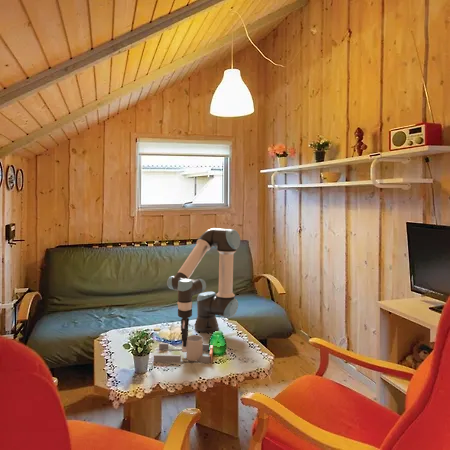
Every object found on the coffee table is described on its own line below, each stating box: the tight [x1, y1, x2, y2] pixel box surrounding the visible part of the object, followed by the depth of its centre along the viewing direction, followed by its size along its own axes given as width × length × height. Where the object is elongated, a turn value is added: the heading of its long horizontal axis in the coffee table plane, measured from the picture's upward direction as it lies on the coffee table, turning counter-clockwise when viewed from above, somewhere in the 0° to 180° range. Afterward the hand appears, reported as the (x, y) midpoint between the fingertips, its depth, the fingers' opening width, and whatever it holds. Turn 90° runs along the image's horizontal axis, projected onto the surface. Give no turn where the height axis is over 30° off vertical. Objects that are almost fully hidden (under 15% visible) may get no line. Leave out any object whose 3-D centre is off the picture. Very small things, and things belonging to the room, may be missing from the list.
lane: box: [153, 342, 214, 364], centre depth 216 cm, size 30×16×5 cm, turn 88°
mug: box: [186, 334, 204, 361], centre depth 215 cm, size 12×8×11 cm
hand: (184, 351), depth 216 cm, fingers closed
